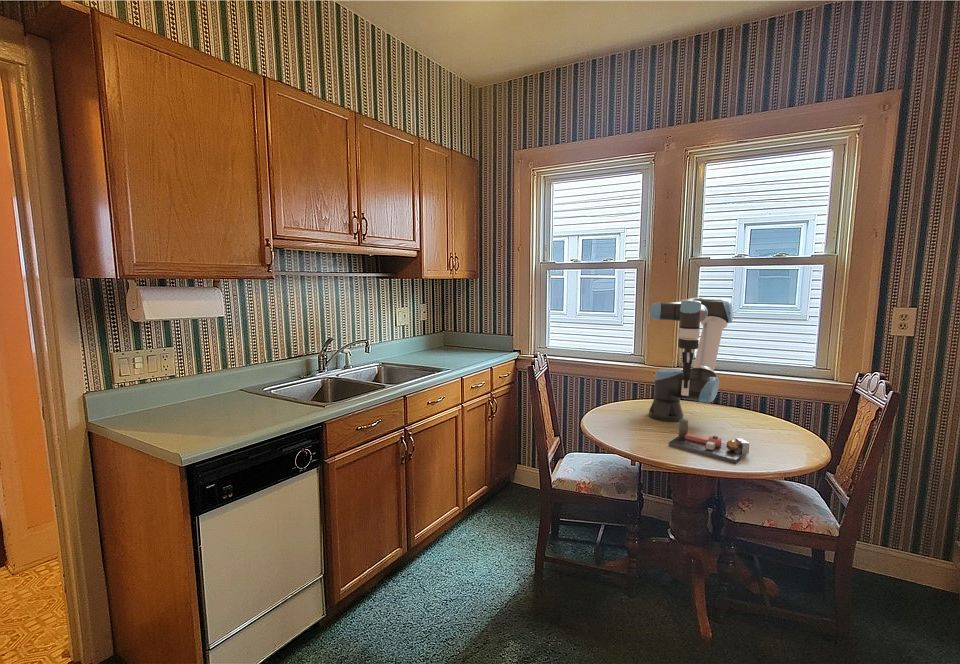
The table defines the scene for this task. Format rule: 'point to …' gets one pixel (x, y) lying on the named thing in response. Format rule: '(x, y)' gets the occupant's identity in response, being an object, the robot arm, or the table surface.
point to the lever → (710, 443)
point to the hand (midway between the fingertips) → (684, 395)
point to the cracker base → (726, 452)
